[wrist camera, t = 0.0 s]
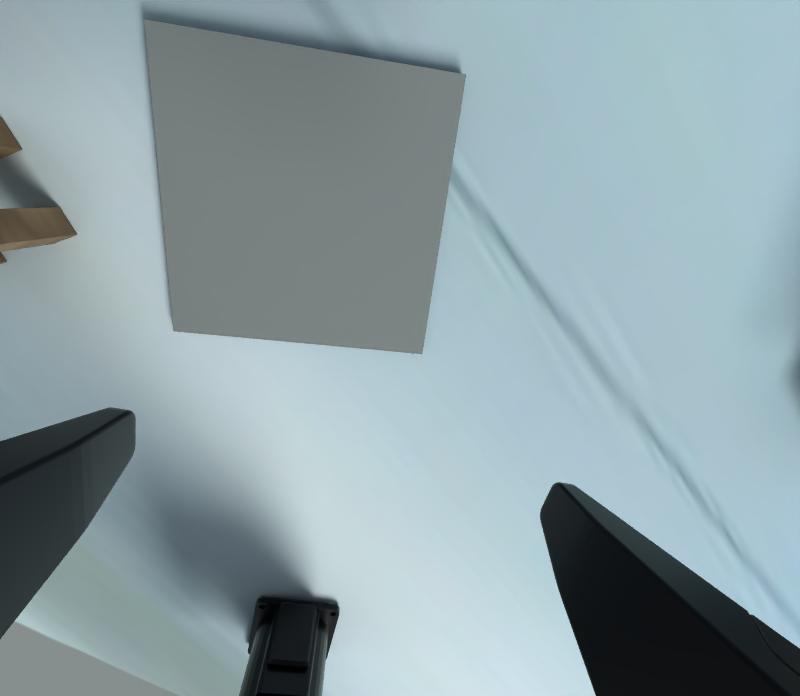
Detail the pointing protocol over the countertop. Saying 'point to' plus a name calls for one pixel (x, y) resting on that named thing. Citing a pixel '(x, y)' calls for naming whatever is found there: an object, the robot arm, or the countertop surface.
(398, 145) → the mat
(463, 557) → the countertop surface
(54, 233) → the wooden footstool
